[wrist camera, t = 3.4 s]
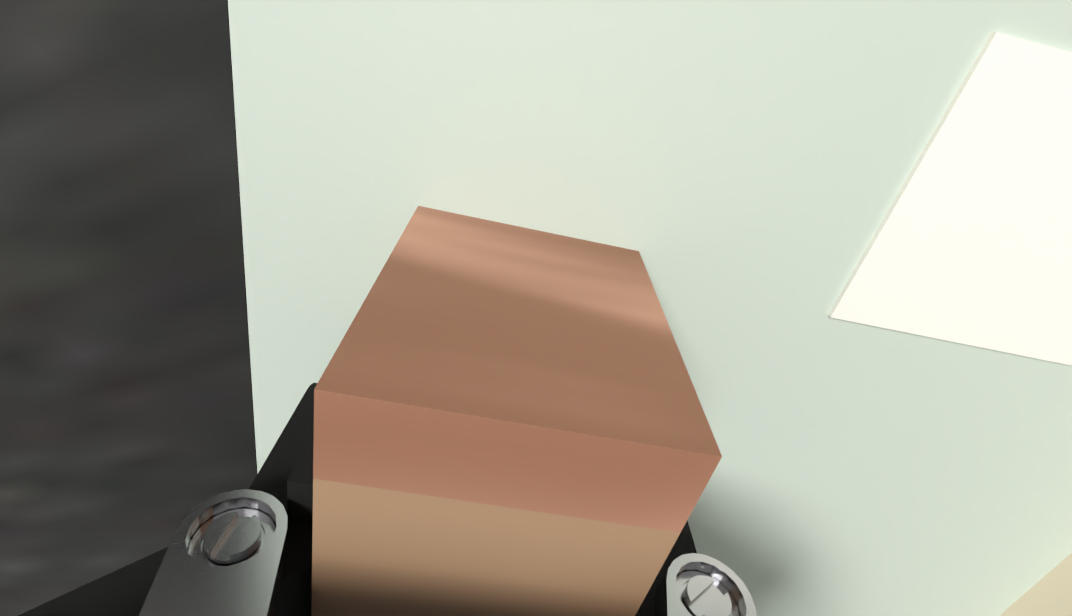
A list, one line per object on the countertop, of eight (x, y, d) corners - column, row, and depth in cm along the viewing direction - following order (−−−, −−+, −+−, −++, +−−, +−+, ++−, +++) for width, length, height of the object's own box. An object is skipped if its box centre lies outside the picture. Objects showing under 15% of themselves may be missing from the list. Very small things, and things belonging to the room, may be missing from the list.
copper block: (541, 531, 14) (544, 780, 9) (383, 509, 13) (309, 759, 9) (638, 251, 10) (721, 455, 5) (417, 205, 9) (314, 389, 5)
